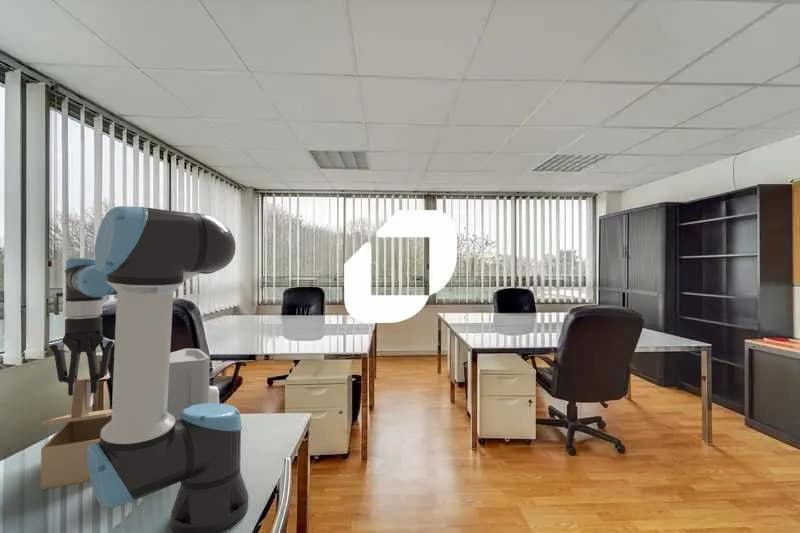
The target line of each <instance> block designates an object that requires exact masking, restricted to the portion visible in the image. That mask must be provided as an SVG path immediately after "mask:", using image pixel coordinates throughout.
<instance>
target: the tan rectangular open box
mask: <svg viewBox="0 0 800 533" xmlns="http://www.w3.org/2000/svg"><path fill="white" fill-rule="evenodd" d="M111 420H112V415H110V416H107V417H102V418H94V419H87V420H79V421H71V422H65V424H63V426H62V427H61V428H60V429H59V430H58V431H57V432H56V433H55V434H54V435H53V436H52V437H51V438H50V439H49V440H48V441H47V442H46V443H45V444H44V445H43V446H42V448H41V450H40V453H41V454H40V459H41V460H40V465H41V466H40V490H41V491H43V490H48V489H49V490H50V489H54V488H59V487H64V486H69V485H70V486H71V485H76V484H79V483H80V484H81V483H85V482H86V483H87V482H91V479H90V475H89V470H88V464H87V449H88V447H89V446H91V445H93V444H94V443H100V434H101V430H102V428H103V427H104V426H105V425H106V424H107V423H109V422H110V421H111Z"/></svg>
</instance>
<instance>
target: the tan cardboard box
mask: <svg viewBox="0 0 800 533" xmlns="http://www.w3.org/2000/svg"><path fill="white" fill-rule="evenodd" d="M89 380H90V378H88V379H77V380H75V383H74V393H73V395H72V404H71V414H67V415H63V416H59V417H56V418H52V419H48V420H43V421H41V423H40V424H41V426H47V425H53V424H62V423H67V422H71V421H79V420H87V419H94V418H102V417H107V416H110V415H112V408H111V409H103V410H102V409H101V410H95V411H90V407H87V408H86V392H87V382H88V381H89Z"/></svg>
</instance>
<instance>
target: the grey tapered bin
mask: <svg viewBox="0 0 800 533" xmlns="http://www.w3.org/2000/svg"><path fill="white" fill-rule="evenodd" d="M210 358H211V357H210V356H209V355H207V354H206V353H205V352H204V351H202V350H201V349H200V348H183V349H179V350H176V351H173V352H172V351H171V352H170V364H169V383H168V402H167V412H168V413H170V414H171V415H173V416H174V418H175V421H177V420H180V419H181V418H180V415H181V413H182V411H183V410H184V409H185V408H187V407H189V406H193V405H198V404H206V403H209V386H210V362H211V360H210Z"/></svg>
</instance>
